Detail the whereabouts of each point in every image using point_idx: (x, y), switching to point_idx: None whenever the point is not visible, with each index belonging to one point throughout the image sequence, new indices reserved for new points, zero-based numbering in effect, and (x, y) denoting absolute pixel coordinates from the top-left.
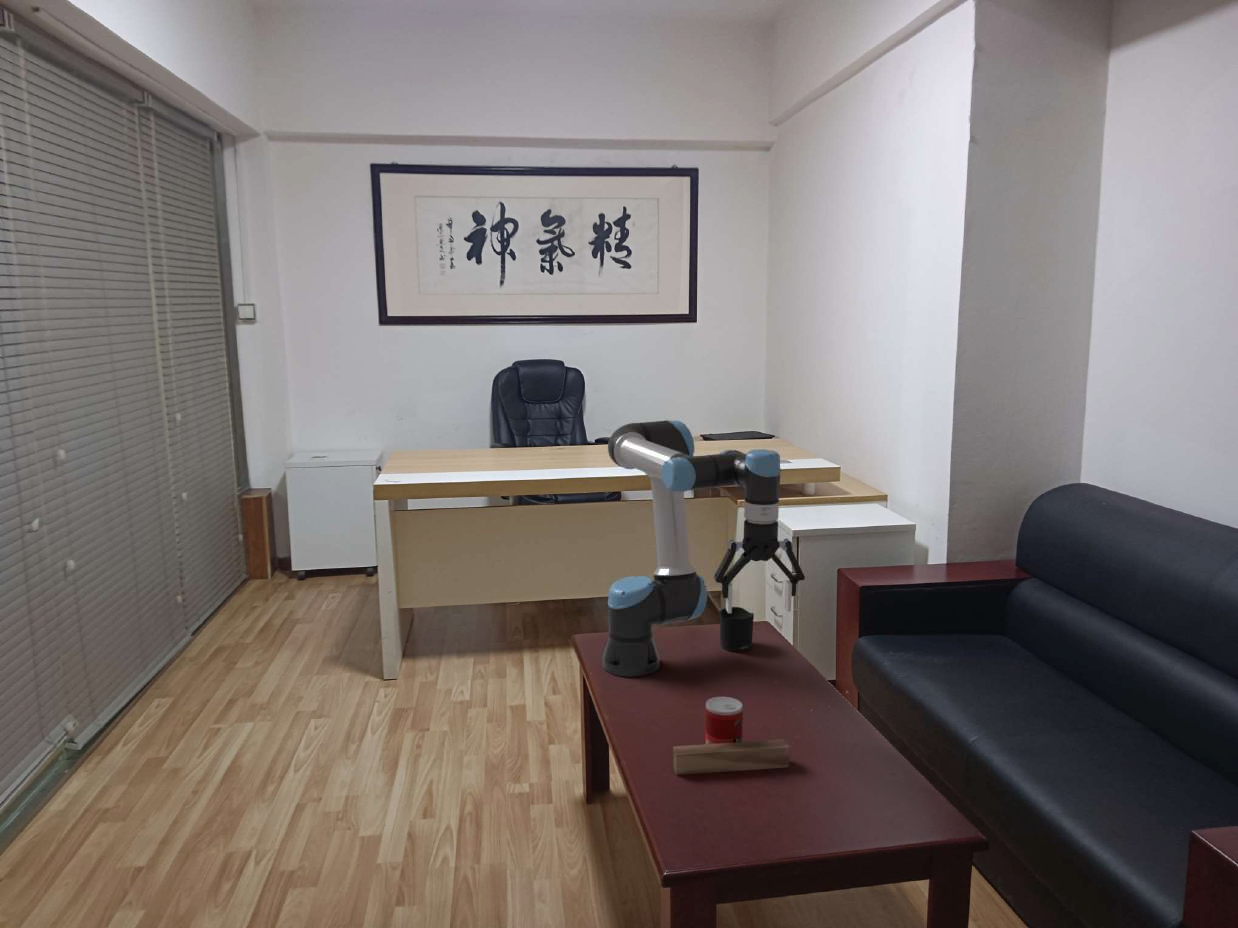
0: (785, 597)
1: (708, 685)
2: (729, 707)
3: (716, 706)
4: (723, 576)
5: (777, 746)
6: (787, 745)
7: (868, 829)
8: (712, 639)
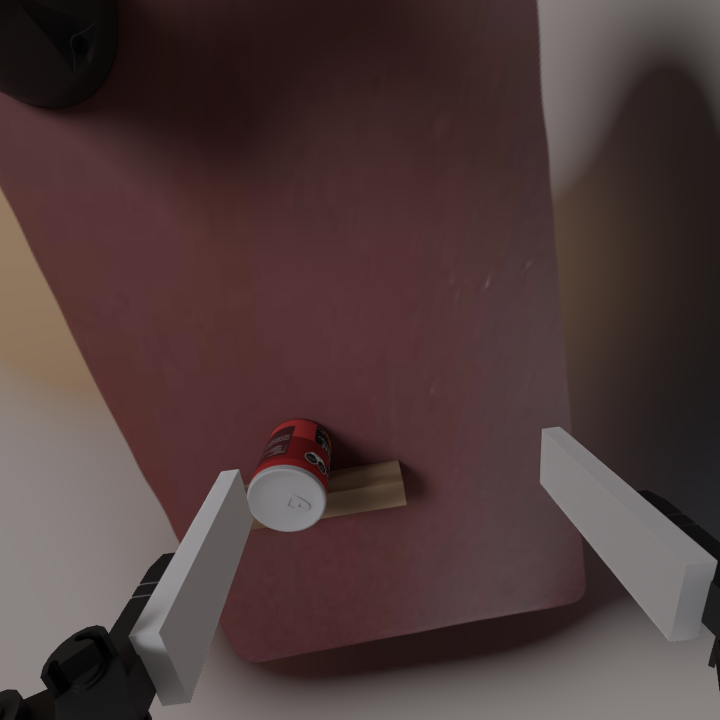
0: (579, 477)
1: (267, 157)
2: (297, 507)
3: (270, 502)
4: (56, 717)
5: (386, 503)
6: (404, 499)
7: (471, 597)
8: None
